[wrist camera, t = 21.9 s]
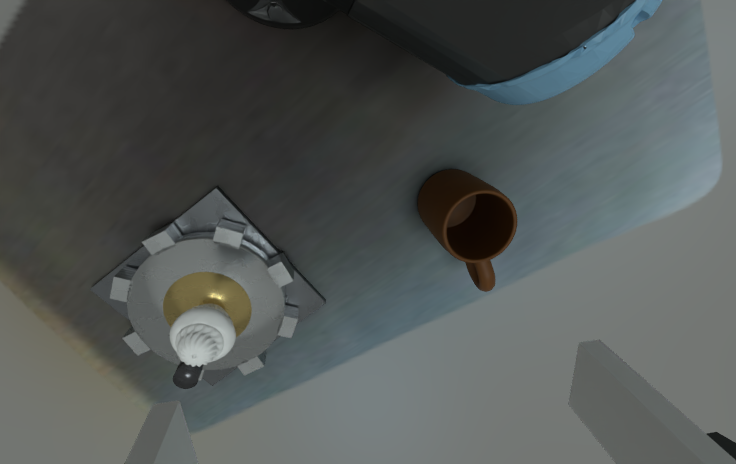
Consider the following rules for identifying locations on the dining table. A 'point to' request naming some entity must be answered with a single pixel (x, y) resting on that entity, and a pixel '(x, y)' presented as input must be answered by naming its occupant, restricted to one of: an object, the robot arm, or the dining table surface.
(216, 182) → the dining table surface
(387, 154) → the dining table surface
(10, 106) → the dining table surface
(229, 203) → the base plate
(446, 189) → the mug
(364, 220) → the dining table surface
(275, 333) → the sprocket
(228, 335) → the muffin
